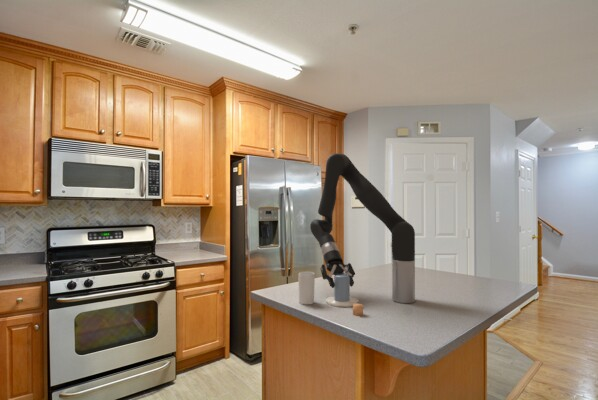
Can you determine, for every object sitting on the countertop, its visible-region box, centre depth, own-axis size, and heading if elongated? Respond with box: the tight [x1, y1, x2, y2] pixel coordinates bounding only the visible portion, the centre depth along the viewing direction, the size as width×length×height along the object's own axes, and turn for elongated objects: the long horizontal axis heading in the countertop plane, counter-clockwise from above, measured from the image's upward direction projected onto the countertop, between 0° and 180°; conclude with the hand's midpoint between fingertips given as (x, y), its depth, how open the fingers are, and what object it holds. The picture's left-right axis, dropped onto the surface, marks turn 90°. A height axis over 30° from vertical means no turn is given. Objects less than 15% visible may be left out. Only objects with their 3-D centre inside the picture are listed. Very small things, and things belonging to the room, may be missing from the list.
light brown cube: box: [352, 303, 364, 317], centre depth 120 cm, size 4×4×4 cm
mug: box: [297, 271, 316, 306], centre depth 136 cm, size 10×7×12 cm, turn 10°
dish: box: [325, 295, 359, 308], centre depth 135 cm, size 13×13×1 cm
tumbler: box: [333, 274, 351, 302], centre depth 135 cm, size 6×6×10 cm
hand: (343, 286), depth 134 cm, fingers open, 8 cm apart
